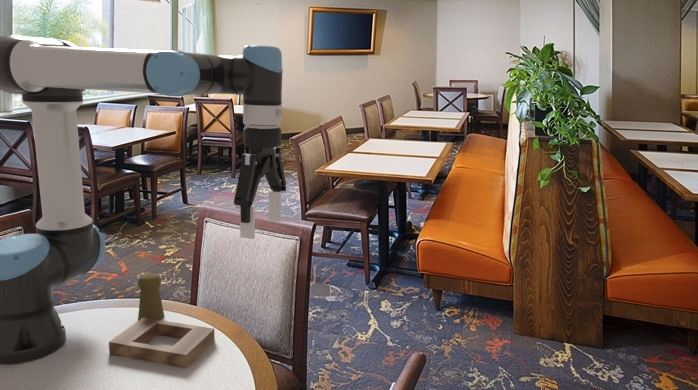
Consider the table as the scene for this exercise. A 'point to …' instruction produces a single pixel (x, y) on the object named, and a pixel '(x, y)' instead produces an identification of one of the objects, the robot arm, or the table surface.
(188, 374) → the table surface
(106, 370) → the table surface
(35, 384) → the table surface
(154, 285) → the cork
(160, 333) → the brown picture frame
